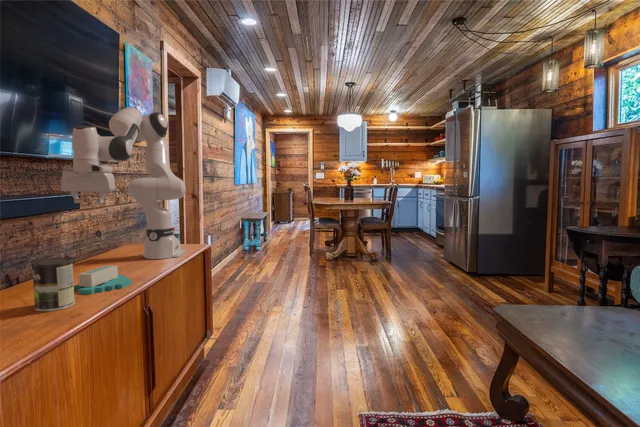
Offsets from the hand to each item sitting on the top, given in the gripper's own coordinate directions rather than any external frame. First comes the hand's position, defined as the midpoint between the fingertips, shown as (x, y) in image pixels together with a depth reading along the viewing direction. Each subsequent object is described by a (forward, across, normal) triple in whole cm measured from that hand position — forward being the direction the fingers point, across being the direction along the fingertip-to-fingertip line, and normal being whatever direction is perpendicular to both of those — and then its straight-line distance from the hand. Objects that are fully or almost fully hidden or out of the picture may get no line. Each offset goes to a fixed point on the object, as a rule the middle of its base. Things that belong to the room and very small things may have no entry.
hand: (89, 203), depth 150 cm
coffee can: (+29, +13, -35) cm, 47 cm away
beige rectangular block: (+28, +12, -13) cm, 33 cm away
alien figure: (+30, +12, -13) cm, 35 cm away
